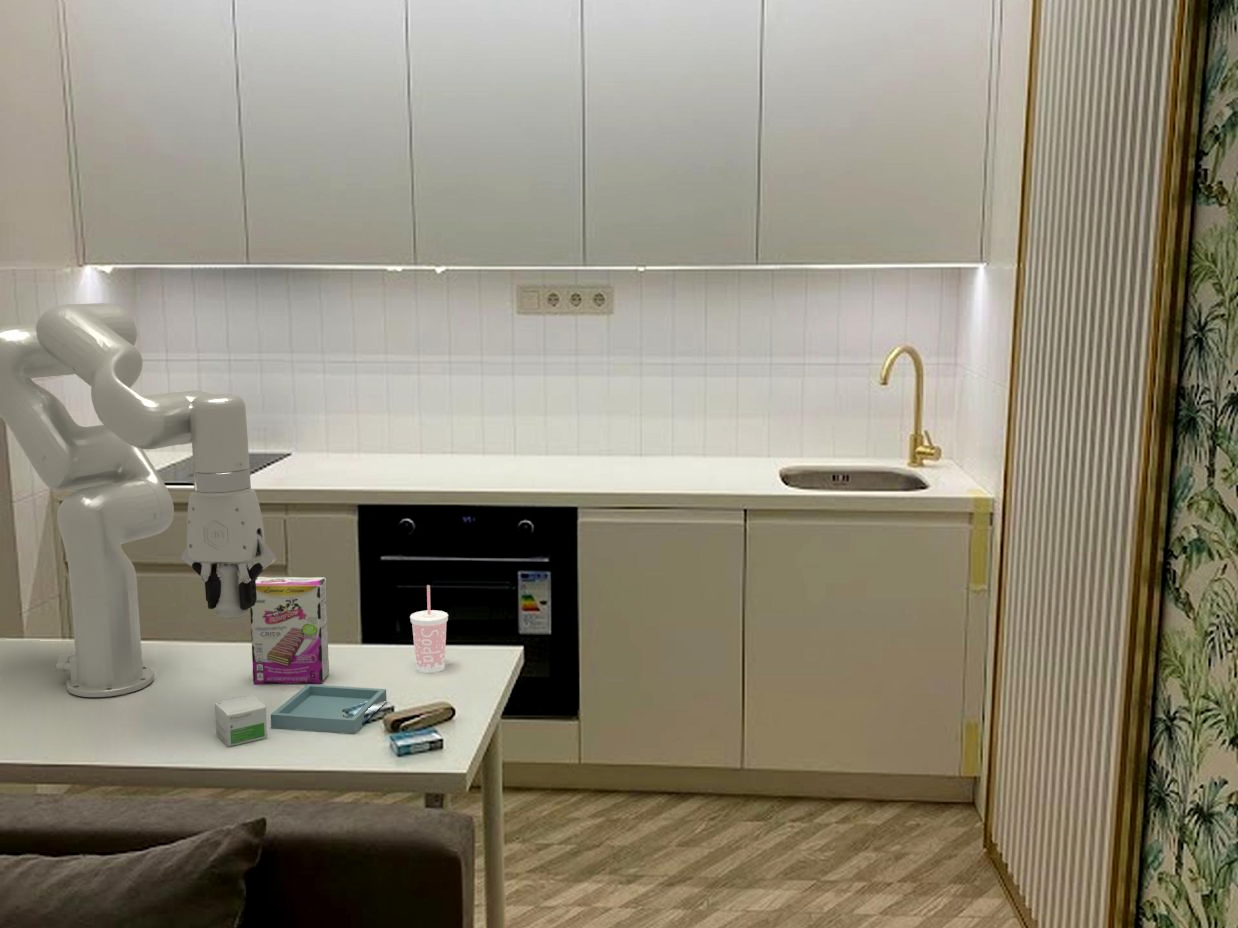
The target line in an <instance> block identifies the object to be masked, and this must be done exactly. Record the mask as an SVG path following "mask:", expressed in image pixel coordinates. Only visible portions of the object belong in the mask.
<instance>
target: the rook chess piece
mask: <svg viewBox="0 0 1238 928" xmlns="http://www.w3.org/2000/svg"><path fill="white" fill-rule="evenodd" d="M217 570H218V573H219V575H220V576H219V577H220V578H219V579H220V580H221V594H220V598H219V599H218V600H219V602H218V603H217V604H216V607H215V608H216V610H217V611H216V612H215V614H216V616H217V617H218V618H219V619H225V620H228V619H229V620H230V619H231V620H232V619H238V618H242V617H244V616H246V614H247V613H248V611H249V609H247V610H242V609H241V608H240V596H239V580H240V574H238V573H239V567H238V564H225V563H219V566H218V567H217Z"/></svg>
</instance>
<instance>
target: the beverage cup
mask: <svg viewBox="0 0 1238 928" xmlns="http://www.w3.org/2000/svg"><path fill="white" fill-rule="evenodd" d="M426 597H427V598H426V602H427V607H426V608H427V609H426V610H421V611H416V612H413V613H411V614H410V616H409V619H410V623H411V624H412V625H411V627H412V636H413V639H412V640H413V646H414V647H413V648H414V658H415V659H414V661H415V670H416V671H417V672H418V673H423V674H434V673H435V674H436V673H438V672H441V671H443V670H445V665H446V643H447V642H446V641H447V622H448V620H449V614H448V612H445V611H443V610H436V609H435V610H434V609H432V610H431V585H429V584H427V585H426Z"/></svg>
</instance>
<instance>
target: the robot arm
mask: <svg viewBox="0 0 1238 928" xmlns="http://www.w3.org/2000/svg"><path fill="white" fill-rule="evenodd" d="M137 336H138V332H137V326H136V324H135V320H134V319H133V317H132V316H131V315H130V313H129V312H127V311H126V309H124V308H122V307H121V306H120V305H116V304H113V303H108V302H105V303H104V302H98V303H96V302H95V303H69V304H67V303H66V304H60V305H57V306H54V307H51V308H49V309H47V310H46V311H44V312H43V313H42V314H41V315H40V317H39V318H38V320H37V322H36V323H27V324H26V323H23V324H22V323H21V324H8V325H2V326H0V418H1V419H2V420H3V421H4V423H5V424H6V425H7V426H8V428H9V429H10V431H11V432H12V434H13V436H14V438H15V439H16V441H17V442H18V444H19V446H20V448H21V449H22V451H23V453H24V454H25V456H26V457H27V459H28V461H29V462H30V464H31V465H32V467H33V469H34V471H35V472H36V474H37V475H38V477H39V478H40V480H41V481H42V482H43V484H45V486H46V487H48V488H49V489H50V490H53V491H56V492H70V491H74V492H72V493H71V494H69V495H67V497H65V498H64V499H63V500H62V501H61V503H60V505H59V507H58V510H57V517H56V519H57V526H58V529H59V533H60V537H61V540H62V544H63V546H64V550H65V555H66V560H67V567H68V576H69V578H68V579H69V588H70V589H69V590H70V599H71V601H70V602H71V611H72V624H73V625H72V628H73V636H74V637H73V638H74V640H73V641H74V652H75V655H73V654H59V656H58V658H57V663H56V664H55V670H56V671H58V672H69V673H70V677H69V679H68V680H66V689H67V690H66V691H68V692H69V693H70V694H72V695H74V696H78V697H83V698H108V697H116V696H121V695H126V694H130V693H133V692H135V691H138V690H141V689H143V688H146V687H147V686H149V685H150V684H152V682H154V680H155V679H154V678H155V673H154V670H153V669H152V668H151V667H148V666H146V665H143V653H142V652H143V651H142V642H141V641H142V639H141V626H140V625H141V623H140V610H139V609H140V608H139V607H140V606H139V598H138V594H139V593H138V579H137V572H136V569H135V566H134V563H133V562H132V561H131V559H130V558H129V557H128V556H127V554H126V553H125V552H124V550H123V548H122V545H123V544H127V543H129V542H130V543H131V542H133V541H138V540H142V539H146V538H150V537H153V536H156V535H159V534H161V533H163V532H165V531H166V530H167V529H168V528H169V527H170V526H171V525H172V523H173V520H174V516H175V515H174V514H175V511H174V510H175V507H174V501H173V499H172V495H171V494H170V491H169V490H168V487H167V486H166V484H165V482H164V481H163V479H162V477H161V476H160V475H159V473H158V472H157V470H156V468H155V467H154V465H153V463H152V462H151V460H150V458H149V457H148V456H147V454H146V452H145V451H144V450H155V449H161V448H167V447H172V446H179V445H180V446H182V445H183V446H184V445H187V444H191V448H192V449H191V450H192V451H191V452H192V462H193V471H192V473H188V474H187V476H186V482H187V483H188V484H193V488H194V490H195V491H193V492H192V491H191V492H190V494H189V499H188V504H187V505H188V506H187V512H186V513H187V514H186V547H185V549H184V550H183V552H182V554H181V556H180V558H181V560H182V561H183V562H185V564H187V565H188V566H190V567H191V568H192V569H193V570H194V572H196V574H197V575H199V577H200V580H201V582H204V590H205V600H206V602H207V607H208V609H209V610H213V609H215V608H216V604H217V603H218V602H219V600H218V599H219V598H220V594H221V580H220V579H219V578H220V577H221V576H219V571H218V570H217V567H218V566H219V563H225V564H238V567H239V570H238V572H239V575H240V576H241V582H240V583H239V596H240V608H241V609H242V610H247V609H248V610H249V609H250V608H251V607H252V606H254V605H255V602H256V599H257V595H256V581H255V579H256V578H258V577H260V575H261V574H262V572H263V571H265V569H266V568H268V567H269V566H270V565H271V564H273V563H274V562H275V561H276V560H277V556H276V555H275V553H274V552H273V551H272V549H271V548H270V547H269V545H268V544H267V543H266V538H265V528H264V521H263V516H262V515H263V514H262V512H261V511H262V510H261V507H260V503H259V498H258V496H257V492H256V490H255V489H252V486H251V485H252V484H251V483H252V482H251V470H250V469H251V467H250V454H249V441H248V438H249V437H248V424H247V423H248V422H247V415H246V414H247V412H246V411H247V409H246V403H245V401H244V399H243V398H242V397H241V396H239V395H236V394H229V393H228V394H226V393H224V394H223V393H221V394H220V393H219V394H213V393H210V392H205V391H202V390H201V391H200V390H187V391H179V392H175V391H174V392H167V393H158V394H149V395H141V394H139V393H138V392H136V391H134V390H133V389H131V387H133V385H135V383H136V382H137V380H138V379H139V377H140V376H141V372H142V369H143V363H144V362H143V357H142V354H141V352H140V351H139V349H138V348H137V347H136V346H135V344H136V342H137ZM69 375H76V376H77V377H79V379H81V380H82V381H83V382H84V383H86V384H87V385H88V386H90V388H91V389H90V397H91V402H92V406H93V408H94V409H93V410H94V411H95V413H96V415H97V417H98V420H99V421H100V422H101V423H102V424H99V425H93V426H92V425H91V426H82V425H78V423H77V422H76V421H74V419H73V417H72V416H71V415H70V413H69V411H68V410H67V408H66V406H65V405H64V404H63V403H62V402H61V400H60V399H59V398H58V397H57V396H55V395H54V394H53V393H52V392H50V391H48V390H47V389H46V388H45V387H42V386H41V385H39V384H37V383H35V382H34V381H33V379H38V378H40V379H41V378H49V377H59V376H60V377H61V376H69ZM259 557H260V560H259V561H257V562H256V559H255V558H259Z"/></svg>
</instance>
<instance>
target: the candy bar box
mask: <svg viewBox="0 0 1238 928" xmlns="http://www.w3.org/2000/svg"><path fill="white" fill-rule="evenodd" d="M255 581H256V595H257V599H256V602H255V605H254V606H252V607H251V608H249V609H250V610H249V613H250V629H251V630H250V631H251V632H250V633H251V634H250V635H251V659H252V661H251V662H252V681H253V684H256V685H257V684H265V685H266V684H268V685H269V684H272V685H273V684H286V685H287V684H323V683H325V680H326V678H327V677H328V676H329V673H330V665H329V664H330V663H329V662H330V661H329V637H328V636H329V635H328V631H329V630H328V629H329V628H328V605H327V604H328V603H327V601H328V599H327V594H328V593H327V579H326V577H324V576H323V577H320V576H317V577H315V576H308V577H307V576H305V577H303V576H302V577H301V576H300V577H299V576H296V577H295V576H286V577H285V576H258V578H256V579H255Z"/></svg>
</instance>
